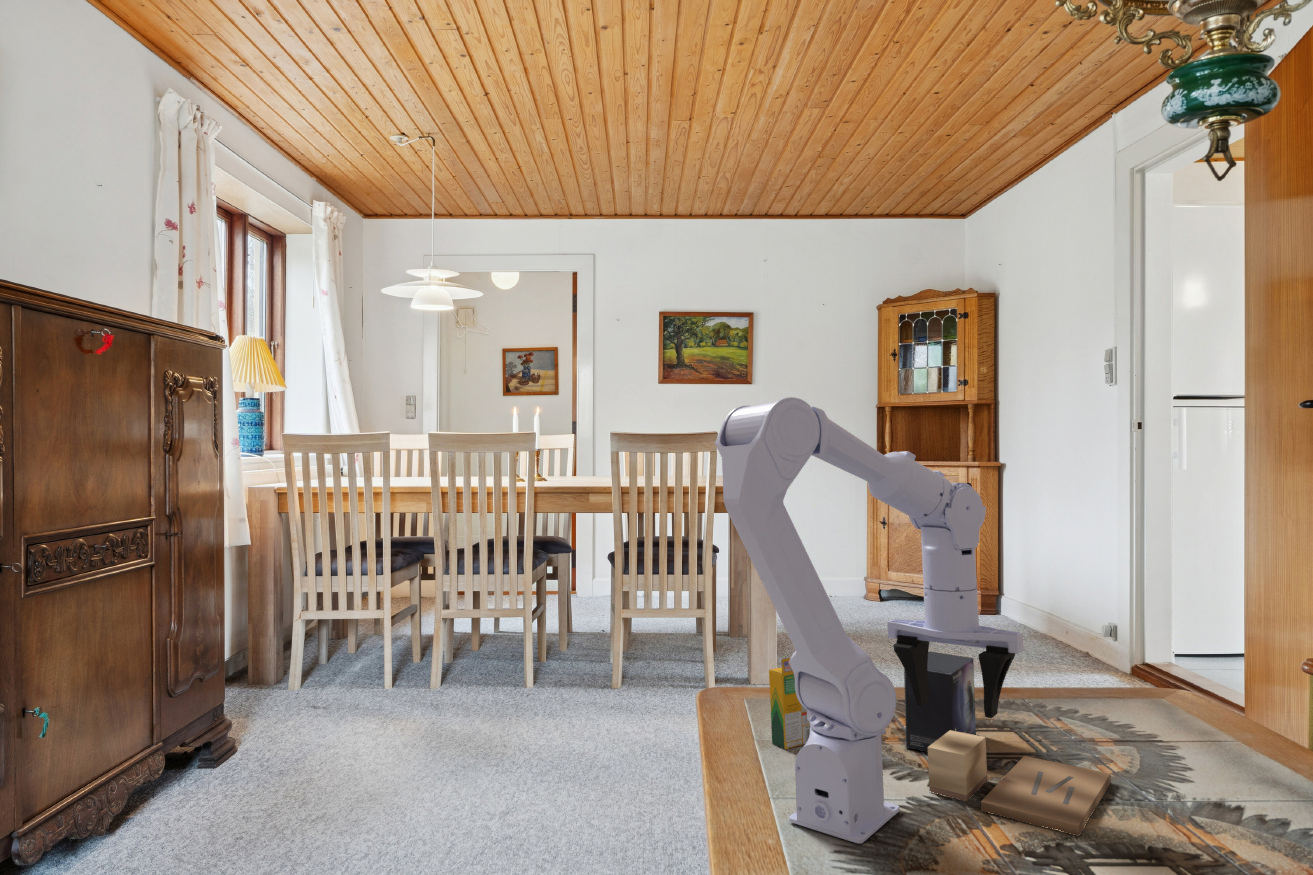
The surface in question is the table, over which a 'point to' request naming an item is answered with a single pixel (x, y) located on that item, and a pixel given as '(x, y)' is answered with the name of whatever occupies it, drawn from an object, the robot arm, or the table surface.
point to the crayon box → (786, 709)
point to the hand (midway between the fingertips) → (955, 708)
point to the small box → (941, 701)
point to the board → (1048, 794)
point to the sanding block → (957, 764)
